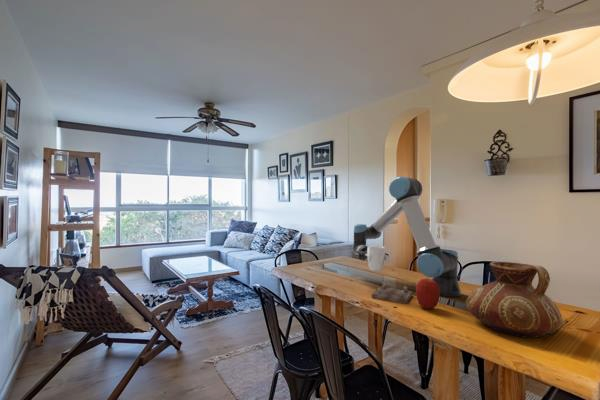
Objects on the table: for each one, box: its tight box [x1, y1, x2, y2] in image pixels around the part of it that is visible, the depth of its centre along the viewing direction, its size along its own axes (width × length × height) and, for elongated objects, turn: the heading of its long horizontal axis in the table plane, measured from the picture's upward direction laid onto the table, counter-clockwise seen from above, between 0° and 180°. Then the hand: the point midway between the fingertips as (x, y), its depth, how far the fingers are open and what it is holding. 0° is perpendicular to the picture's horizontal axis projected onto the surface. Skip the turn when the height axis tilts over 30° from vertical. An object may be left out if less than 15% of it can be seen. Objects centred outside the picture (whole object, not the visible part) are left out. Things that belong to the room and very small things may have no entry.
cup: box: [367, 245, 386, 272], centre depth 161 cm, size 9×9×12 cm
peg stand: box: [371, 283, 413, 305], centre depth 153 cm, size 16×16×4 cm
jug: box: [465, 261, 563, 338], centre depth 119 cm, size 30×30×25 cm
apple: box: [415, 278, 441, 310], centre depth 137 cm, size 10×10×14 cm
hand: (379, 258), depth 157 cm, fingers closed on cup, 9 cm apart
